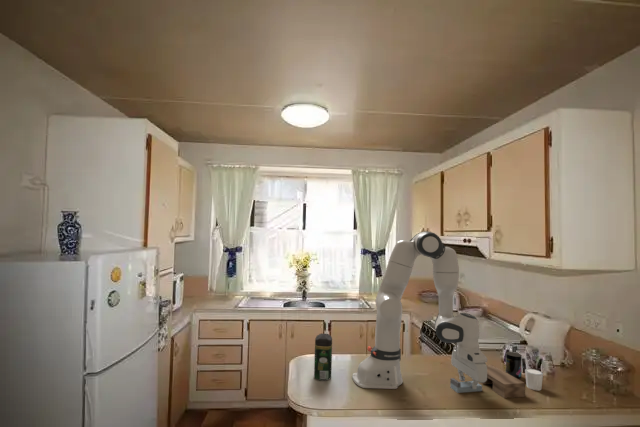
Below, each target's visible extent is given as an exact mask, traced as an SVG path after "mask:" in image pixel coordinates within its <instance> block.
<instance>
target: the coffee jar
mask: <svg viewBox="0 0 640 427" xmlns="http://www.w3.org/2000/svg"><path fill="white" fill-rule="evenodd" d="M332 358H333V337H332V336H331V335H330V334H329V333H319V334H317V335H316V337H315V339H314V363H313V365H314V366H313V367H314V368H313V369H314V371H313V376H314V379H316V380H319V381H328V380H330V379H331V378H332V368H333V366H332V362H333V361H332V360H333V359H332Z"/></svg>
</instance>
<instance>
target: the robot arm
mask: <svg viewBox="0 0 640 427" xmlns="http://www.w3.org/2000/svg"><path fill="white" fill-rule="evenodd" d="M419 256H424V257H427V258H428V257H429V258H430V259H431V262H432V277H433V278H432V279H433V283H434V287H435V290H436V293H437V296H438V314H437V316H436V318H435V320H434V329H435V335H436V337H437V338H438V339H439V341H441V342H443V343H446V344H456V345H454V346H453V350H452V353H451V360H450V363H451V365H452V367H454V368H456V369H457V374H458V376H459V378H458V379H459V380H460V382H465V380H466V377H465V376H464V374H465V375H466V376H468V377H470V378H471V381H473V383H471V388H473V389H477V384H478V383H479V384H482V382H486V381H487V365H488V364H487V363H488V357H487V356H486V355H485V353H483V352H482V350H481V349H480V344H479V339H480V324H479V320H478V318H477V317H476V316H475V315H472V314H470V313H467V312H460V313H458V314H457V315H454V305H453V303H454V294H455V291H456V290H457V289H458V285H459V280H460V279H459V278H460V271H459V270H460V269H459V268H460V267H459V260H458V255H457V251H456V250H455V249H454V248H452V247H449V246H445V244H444V242H443V241H442V239H441V238H440V236H439V235H437V233H435V232H432V231H420V232H419V233H417V234H415V235H414V236H413V237H412V238H411V239H409V240H407V239H401V240H398V241H397V242H396V243H395V244H394V247H393V249H392V251H391V254H390V256H389V258H388V262H387V265H386V269H385V272H384V276H383V277H382V278H383V279H382V281H381V283H380V286H379V288H378V291H377V295H376V297H375V306H376V318H375V320H376V321H375V329H374V330H375V334H374V346H373V347H371V345H370V346H369V345H368V346H367V348H366V349H367V351H368V352H369V353H370V355H369V356H368V357H366V358H365V359H363V360H362V361H361V362H359V363H358V366H357V371H356V372H353V373H352V376H351V377H352V378H351V379H352V381H353V382H354V383H355V384H356V385H357V386H358V387H360V388H363V389H390V390H391V389H392V390H395V389H398V388H399V386H400V385H402V384H403V381H404V380H403V376H402V371H401V357H402V353H401V352H402V350H401V330H402V329H401V327H402V321H403V320H402V317H403V303H402V301H401V300H402V297H403V295H404V292H405V290H406V288H407V286H408V285H409V281H410V278H411V275H412V271H413V267H414V264H415V261H416V259H417V258H418V257H419Z"/></svg>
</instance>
